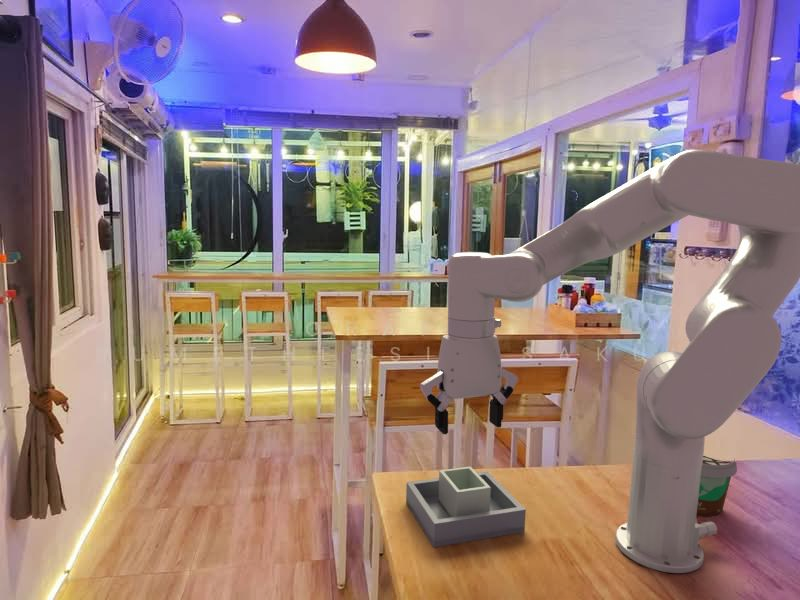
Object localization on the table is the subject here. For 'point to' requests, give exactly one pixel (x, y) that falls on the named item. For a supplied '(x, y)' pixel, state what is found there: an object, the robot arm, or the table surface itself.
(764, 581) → the table surface
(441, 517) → the big crate
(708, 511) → the food container
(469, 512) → the small crate
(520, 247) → the robot arm
